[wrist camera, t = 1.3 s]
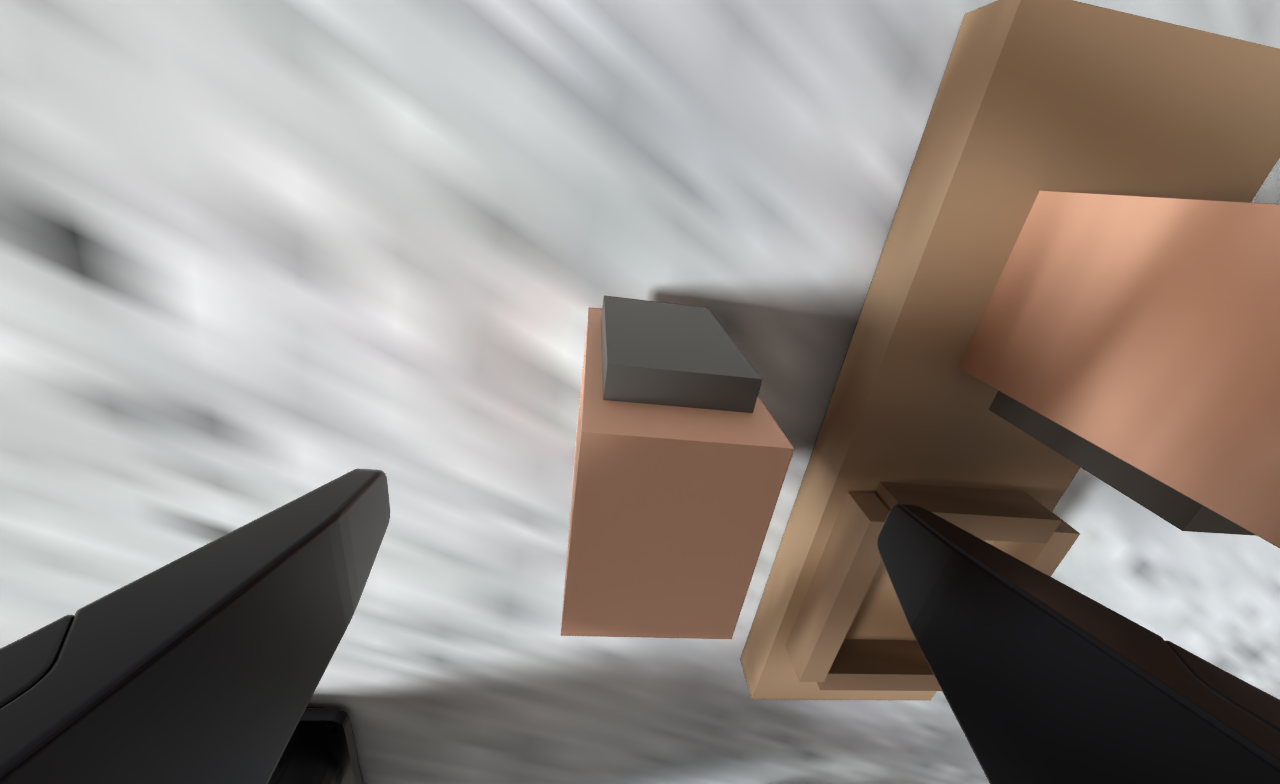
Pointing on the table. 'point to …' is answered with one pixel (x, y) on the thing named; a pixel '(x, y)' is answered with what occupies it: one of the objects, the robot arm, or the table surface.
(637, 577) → the salmon and grey block
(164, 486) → the table surface
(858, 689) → the rail
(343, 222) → the table surface
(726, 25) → the table surface
